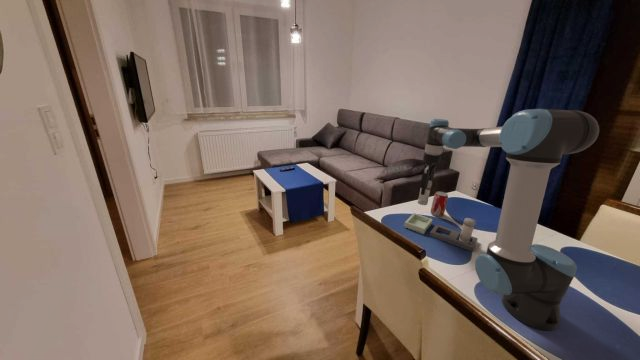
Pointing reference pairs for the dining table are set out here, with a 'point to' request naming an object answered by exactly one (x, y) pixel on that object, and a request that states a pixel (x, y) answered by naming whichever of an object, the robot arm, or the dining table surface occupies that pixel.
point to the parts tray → (418, 223)
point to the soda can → (439, 203)
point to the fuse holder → (457, 235)
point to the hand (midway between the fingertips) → (423, 198)
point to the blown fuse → (426, 194)
